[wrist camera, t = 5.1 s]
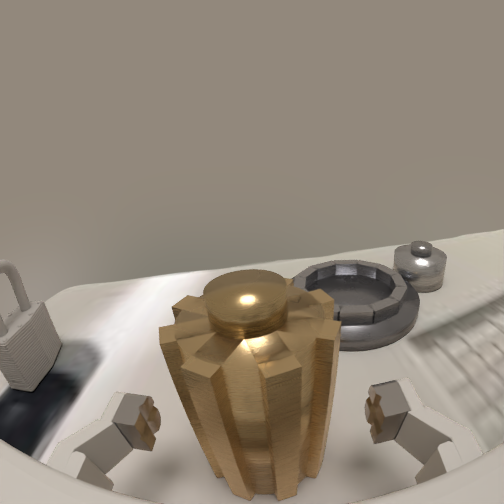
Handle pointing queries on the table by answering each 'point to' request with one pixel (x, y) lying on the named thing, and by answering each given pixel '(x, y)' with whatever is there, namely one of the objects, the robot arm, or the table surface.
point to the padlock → (26, 338)
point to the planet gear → (256, 377)
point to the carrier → (364, 301)
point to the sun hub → (420, 265)
